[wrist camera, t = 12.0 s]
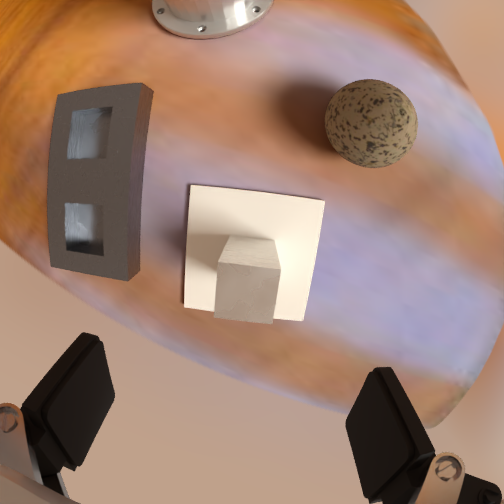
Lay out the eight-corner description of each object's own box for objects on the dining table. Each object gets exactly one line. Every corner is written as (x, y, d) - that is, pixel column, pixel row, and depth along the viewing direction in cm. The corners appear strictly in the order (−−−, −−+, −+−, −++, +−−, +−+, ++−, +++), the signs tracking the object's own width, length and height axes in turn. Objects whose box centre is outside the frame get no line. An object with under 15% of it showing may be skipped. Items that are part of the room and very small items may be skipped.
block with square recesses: (73, 99, 22) (57, 94, 19) (153, 91, 22) (142, 82, 20) (65, 258, 27) (50, 266, 24) (140, 270, 27) (128, 281, 24)
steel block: (230, 234, 25) (218, 261, 18) (274, 240, 26) (281, 269, 18) (226, 276, 27) (213, 317, 19) (268, 281, 27) (272, 324, 19)
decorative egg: (328, 176, 24) (368, 178, 15) (305, 102, 23) (331, 64, 13) (394, 160, 24) (456, 158, 14) (373, 90, 22) (425, 58, 12)
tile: (192, 184, 25) (190, 185, 24) (323, 200, 25) (325, 200, 24) (185, 304, 28) (184, 307, 28) (302, 318, 28) (302, 321, 28)
